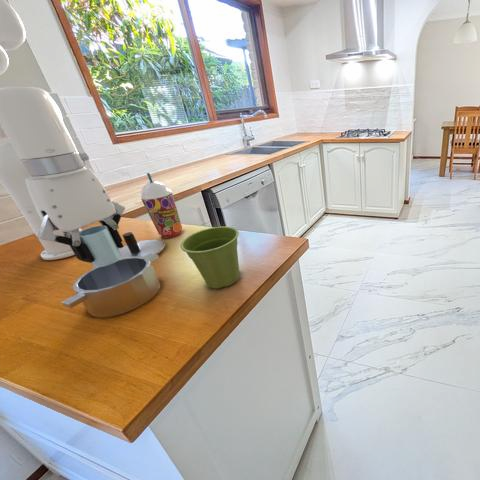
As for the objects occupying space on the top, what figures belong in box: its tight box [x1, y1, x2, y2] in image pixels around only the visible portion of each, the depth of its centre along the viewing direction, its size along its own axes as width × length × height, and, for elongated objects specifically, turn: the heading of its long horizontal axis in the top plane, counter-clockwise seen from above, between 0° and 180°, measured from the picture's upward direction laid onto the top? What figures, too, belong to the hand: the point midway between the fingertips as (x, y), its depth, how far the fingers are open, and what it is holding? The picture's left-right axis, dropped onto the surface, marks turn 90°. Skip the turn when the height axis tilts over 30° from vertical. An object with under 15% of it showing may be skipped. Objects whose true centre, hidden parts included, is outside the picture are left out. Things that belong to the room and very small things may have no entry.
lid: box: [118, 231, 166, 258], centre depth 81 cm, size 14×14×7 cm
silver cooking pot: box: [61, 253, 161, 318], centre depth 63 cm, size 13×19×6 cm
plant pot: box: [179, 226, 240, 290], centre depth 65 cm, size 12×12×11 cm
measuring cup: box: [79, 225, 122, 268], centre depth 59 cm, size 5×5×7 cm
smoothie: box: [139, 172, 183, 239], centre depth 89 cm, size 8×8×20 cm
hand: (103, 253), depth 60 cm, fingers closed on measuring cup, 5 cm apart
